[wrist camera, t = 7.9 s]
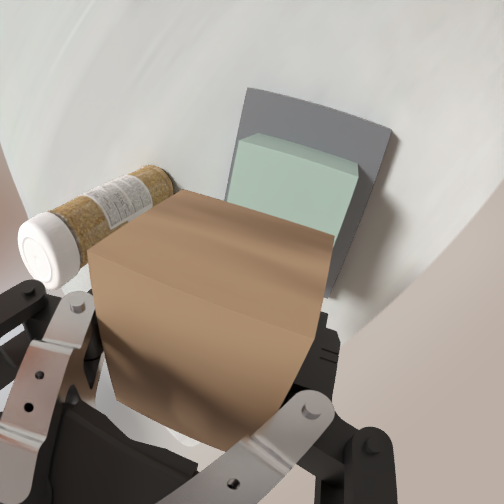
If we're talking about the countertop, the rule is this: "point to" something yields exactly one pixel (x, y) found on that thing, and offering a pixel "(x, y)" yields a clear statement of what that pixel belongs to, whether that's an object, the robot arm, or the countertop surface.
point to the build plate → (323, 138)
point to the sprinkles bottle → (87, 224)
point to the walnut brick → (208, 313)
